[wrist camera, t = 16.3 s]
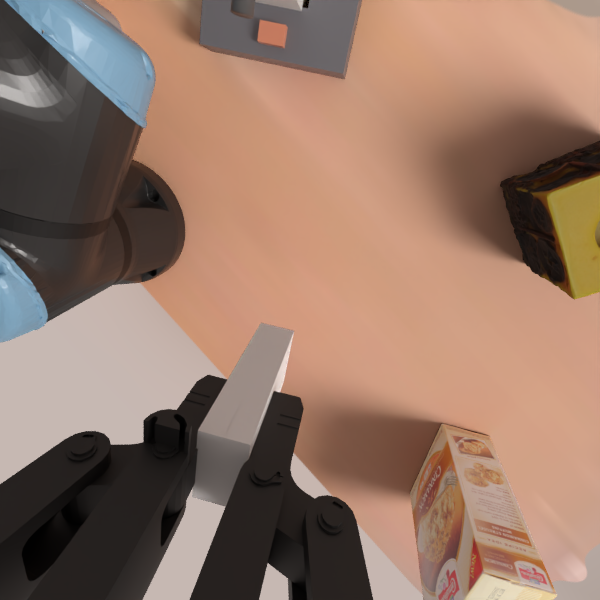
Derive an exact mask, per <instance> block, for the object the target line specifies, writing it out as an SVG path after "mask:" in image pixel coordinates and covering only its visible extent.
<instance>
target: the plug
mask: <svg viewBox="0 0 600 600" xmlns="http://www.w3.org/2000/svg"><path fill="white" fill-rule="evenodd" d="M255 2H258V3H263V4H268V5H273V6H278V7H283V8H288V9H293V10H298V11H302V7H306V2H307V0H231V10H230V12H231V13H233V14H235V15H237V16H239V17H243V18H248V19H252V18H253V16H254V7H255Z"/></svg>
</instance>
